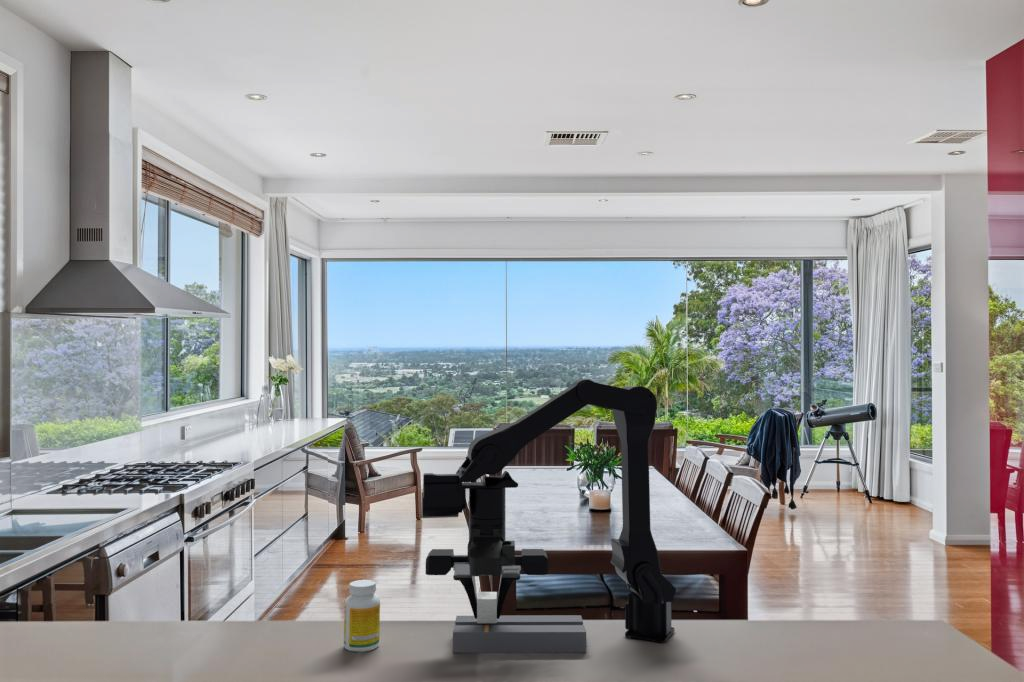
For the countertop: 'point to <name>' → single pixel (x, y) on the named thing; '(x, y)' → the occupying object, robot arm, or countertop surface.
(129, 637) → the countertop surface
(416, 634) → the countertop surface
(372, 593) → the supplement bottle
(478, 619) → the fader tab
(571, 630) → the fader console
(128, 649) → the countertop surface
